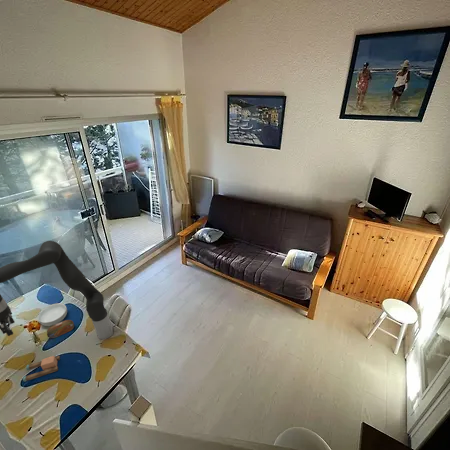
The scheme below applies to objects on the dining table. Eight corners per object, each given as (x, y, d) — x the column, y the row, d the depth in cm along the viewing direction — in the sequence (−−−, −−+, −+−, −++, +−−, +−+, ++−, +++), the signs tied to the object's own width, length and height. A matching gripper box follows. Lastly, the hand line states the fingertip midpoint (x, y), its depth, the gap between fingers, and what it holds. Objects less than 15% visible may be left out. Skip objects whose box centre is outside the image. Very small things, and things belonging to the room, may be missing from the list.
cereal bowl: (74, 316, 172) (71, 309, 169) (48, 334, 160) (45, 326, 157) (61, 306, 180) (58, 299, 177) (36, 321, 168) (32, 314, 164)
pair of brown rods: (60, 357, 147) (58, 355, 145) (57, 370, 140) (56, 368, 139) (28, 367, 141) (26, 365, 140) (24, 381, 134) (22, 379, 133)
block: (57, 361, 144) (54, 355, 141) (56, 367, 141) (53, 361, 138) (45, 365, 142) (42, 359, 139) (44, 371, 139) (40, 365, 136)
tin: (49, 340, 156) (45, 331, 152) (49, 336, 158) (44, 328, 154) (75, 328, 164) (72, 320, 160) (75, 325, 166) (71, 317, 162)
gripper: (5, 314, 121) (19, 335, 129) (8, 296, 131) (21, 316, 139) (-14, 321, 117) (1, 342, 125) (-10, 302, 127) (4, 322, 135)
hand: (11, 328), depth 132 cm, fingers open, 8 cm apart
